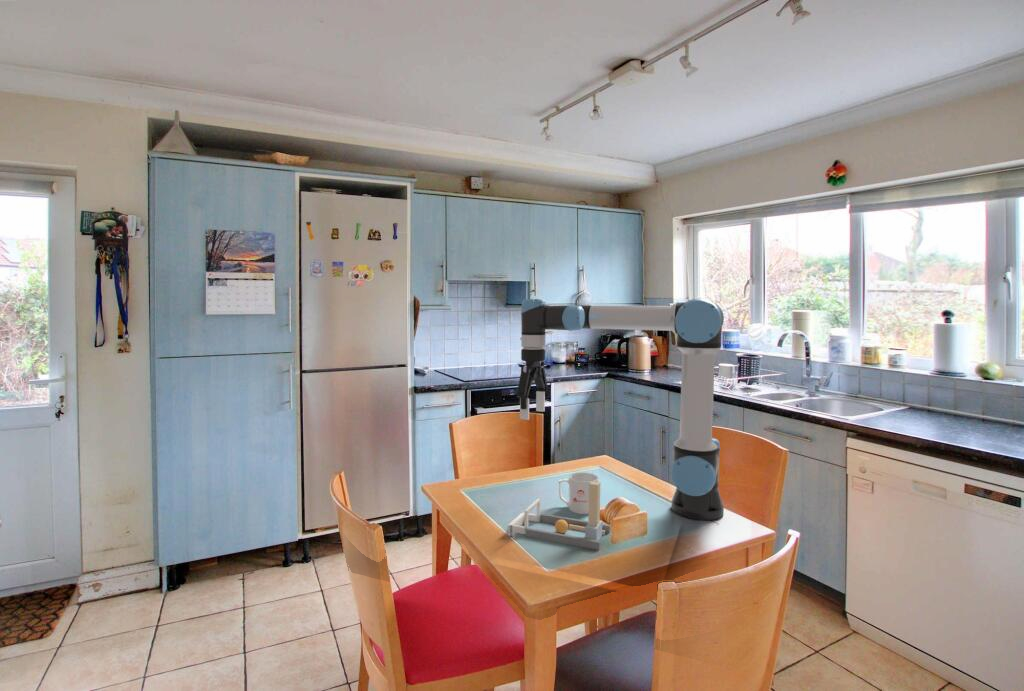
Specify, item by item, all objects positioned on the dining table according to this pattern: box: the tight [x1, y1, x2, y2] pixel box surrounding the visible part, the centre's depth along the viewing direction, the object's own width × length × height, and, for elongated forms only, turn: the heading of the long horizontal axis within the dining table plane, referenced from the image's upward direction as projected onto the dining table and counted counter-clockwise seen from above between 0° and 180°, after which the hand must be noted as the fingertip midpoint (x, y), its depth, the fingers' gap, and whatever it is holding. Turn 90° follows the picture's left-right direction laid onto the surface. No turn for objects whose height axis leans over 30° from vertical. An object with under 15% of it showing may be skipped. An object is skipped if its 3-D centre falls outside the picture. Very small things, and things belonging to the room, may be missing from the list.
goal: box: [507, 498, 542, 537], centre depth 152 cm, size 6×10×8 cm, turn 156°
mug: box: [558, 472, 600, 515], centre depth 165 cm, size 12×9×11 cm
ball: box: [554, 520, 569, 534], centre depth 148 cm, size 4×4×4 cm
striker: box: [584, 481, 603, 541], centre depth 144 cm, size 3×6×15 cm, turn 156°
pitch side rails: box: [525, 512, 611, 551], centre depth 147 cm, size 20×12×3 cm, turn 66°
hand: (532, 415), depth 172 cm, fingers open, 13 cm apart
